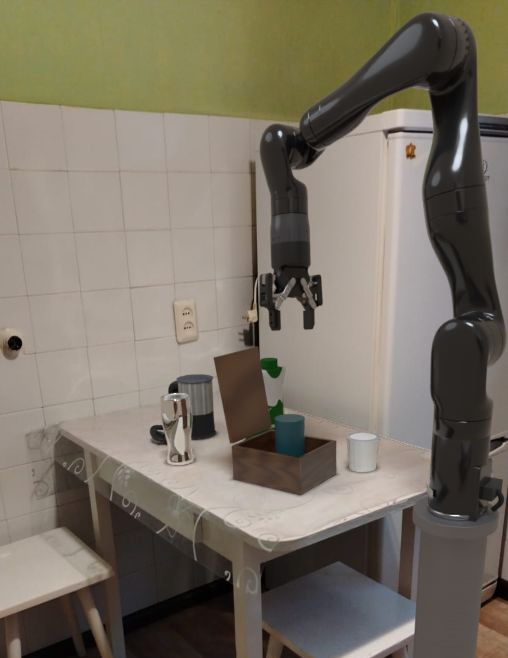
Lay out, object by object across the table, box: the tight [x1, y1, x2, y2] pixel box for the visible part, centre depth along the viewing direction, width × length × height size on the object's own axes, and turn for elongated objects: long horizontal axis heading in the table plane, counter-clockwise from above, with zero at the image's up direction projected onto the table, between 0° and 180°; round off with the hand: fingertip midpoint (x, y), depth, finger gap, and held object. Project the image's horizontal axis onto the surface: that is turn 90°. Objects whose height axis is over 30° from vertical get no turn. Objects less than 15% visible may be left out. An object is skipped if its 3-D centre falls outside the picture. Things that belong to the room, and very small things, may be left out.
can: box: [275, 413, 306, 458], centre depth 130 cm, size 6×6×12 cm
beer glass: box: [159, 393, 195, 466], centre depth 143 cm, size 7×7×15 cm
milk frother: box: [149, 373, 217, 444], centre depth 160 cm, size 14×16×15 cm
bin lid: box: [213, 346, 272, 445], centre depth 133 cm, size 18×14×1 cm
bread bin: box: [231, 429, 337, 496], centre depth 132 cm, size 17×14×7 cm
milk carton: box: [245, 357, 287, 440], centre depth 155 cm, size 9×9×20 cm
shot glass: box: [346, 431, 381, 473], centre depth 135 cm, size 7×7×7 cm
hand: (292, 330), depth 125 cm, fingers open, 8 cm apart
